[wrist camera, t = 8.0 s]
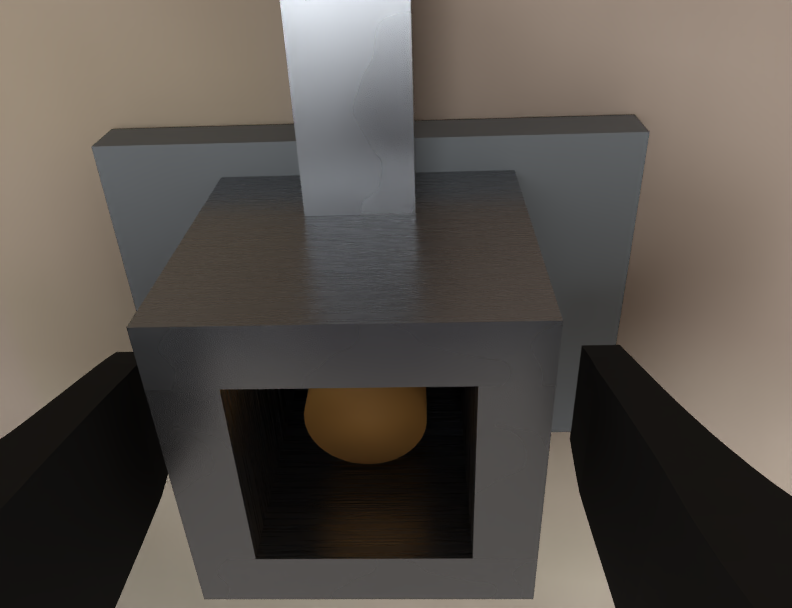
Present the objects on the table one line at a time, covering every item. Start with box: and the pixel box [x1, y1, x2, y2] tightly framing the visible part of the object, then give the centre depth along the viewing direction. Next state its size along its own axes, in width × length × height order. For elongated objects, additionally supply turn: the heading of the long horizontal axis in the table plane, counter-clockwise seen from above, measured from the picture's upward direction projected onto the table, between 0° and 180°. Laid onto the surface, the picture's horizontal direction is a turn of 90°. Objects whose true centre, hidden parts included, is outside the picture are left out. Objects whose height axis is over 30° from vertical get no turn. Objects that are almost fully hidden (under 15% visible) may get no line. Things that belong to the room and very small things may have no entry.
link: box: [127, 0, 563, 599], centre depth 11 cm, size 5×9×5 cm, turn 2°
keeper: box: [92, 115, 649, 464], centre depth 13 cm, size 10×7×4 cm
